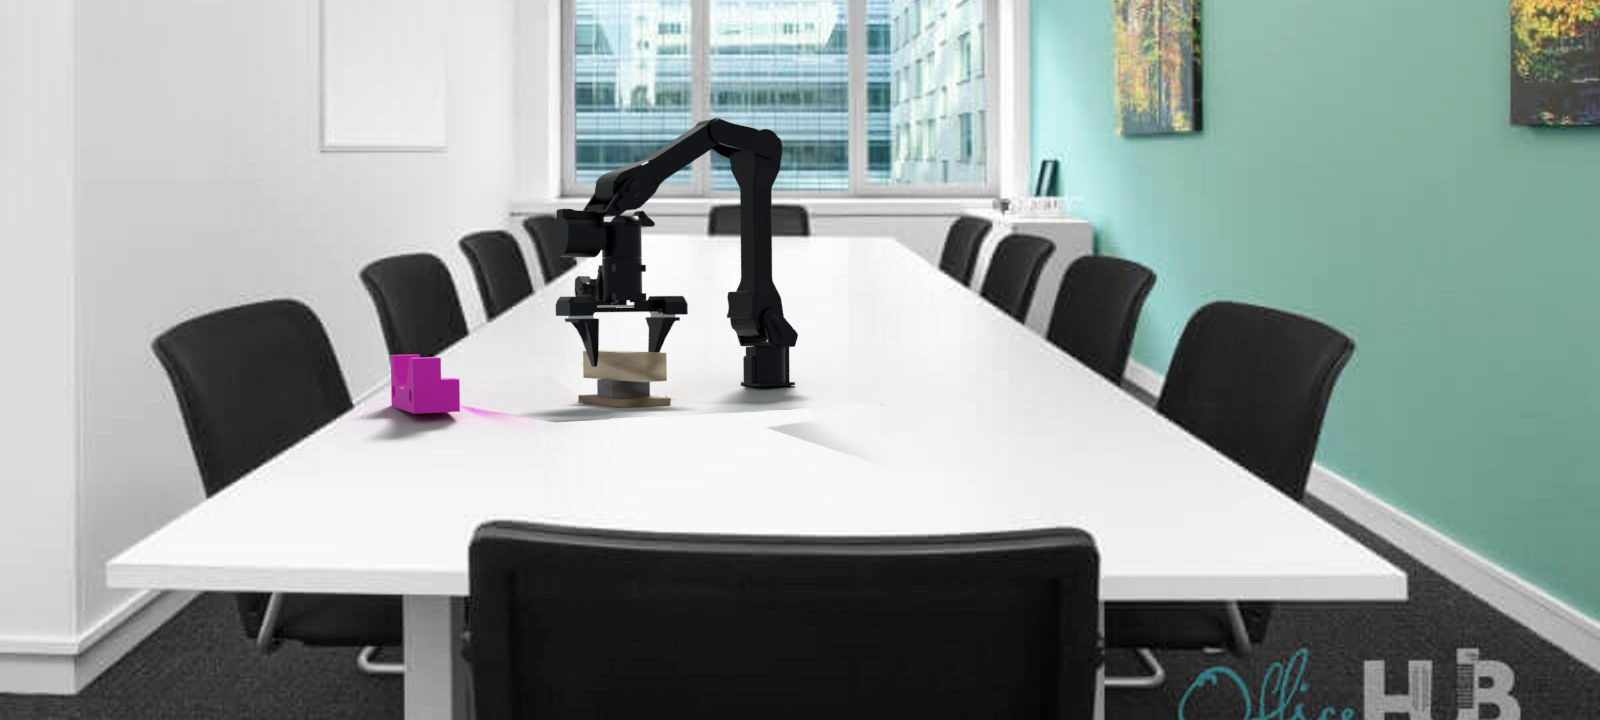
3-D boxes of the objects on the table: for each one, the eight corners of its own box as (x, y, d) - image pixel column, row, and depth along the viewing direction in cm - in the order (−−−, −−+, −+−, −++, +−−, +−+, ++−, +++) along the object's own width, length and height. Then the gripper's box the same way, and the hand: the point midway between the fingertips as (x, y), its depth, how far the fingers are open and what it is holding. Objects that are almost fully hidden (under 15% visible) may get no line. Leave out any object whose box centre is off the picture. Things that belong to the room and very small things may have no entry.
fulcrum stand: (627, 399, 204) (627, 376, 204) (670, 404, 192) (670, 380, 192) (578, 401, 199) (578, 378, 199) (619, 407, 188) (619, 382, 188)
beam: (606, 376, 203) (606, 350, 203) (666, 380, 191) (666, 352, 191) (583, 377, 201) (583, 350, 200) (643, 382, 188) (642, 353, 188)
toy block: (459, 411, 186) (458, 357, 185) (413, 413, 183) (412, 358, 183) (434, 404, 199) (433, 354, 199) (391, 406, 196) (390, 355, 196)
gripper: (654, 260, 207) (655, 361, 207) (539, 259, 197) (541, 365, 197) (688, 258, 197) (690, 364, 198) (570, 256, 187) (572, 368, 188)
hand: (623, 365), depth 196 cm, fingers open, 9 cm apart
